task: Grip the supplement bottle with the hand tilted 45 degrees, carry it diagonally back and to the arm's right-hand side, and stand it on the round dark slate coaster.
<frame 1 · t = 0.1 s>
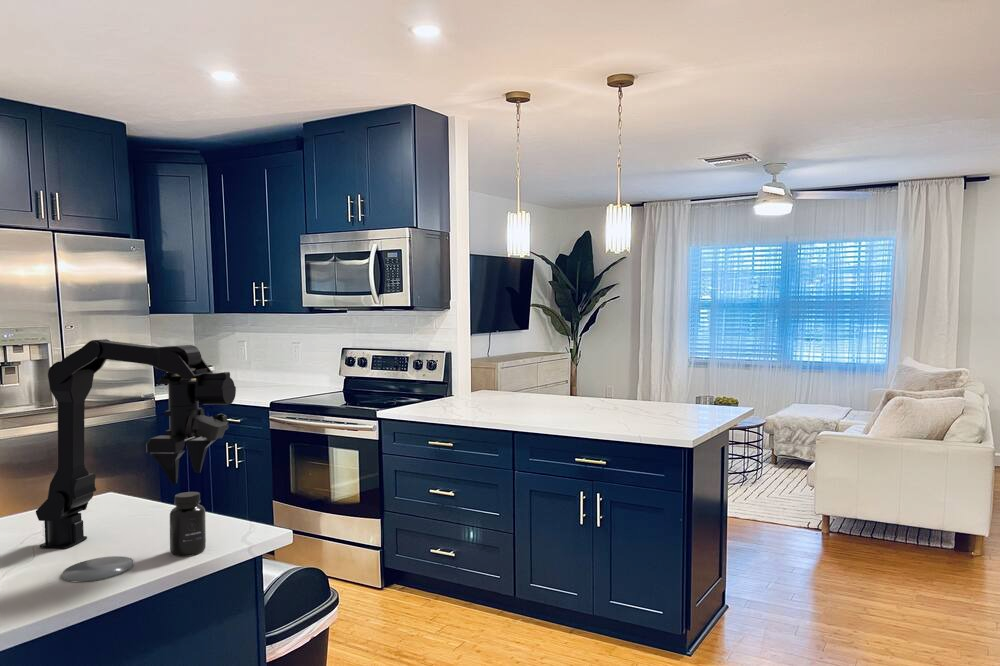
hand: (186, 478, 147), 15 cm above the counter, tool pointing down, fingers open, 9 cm apart
slate coaster: (98, 569, 135), on the counter
supplement bottle: (188, 552, 144), on the counter
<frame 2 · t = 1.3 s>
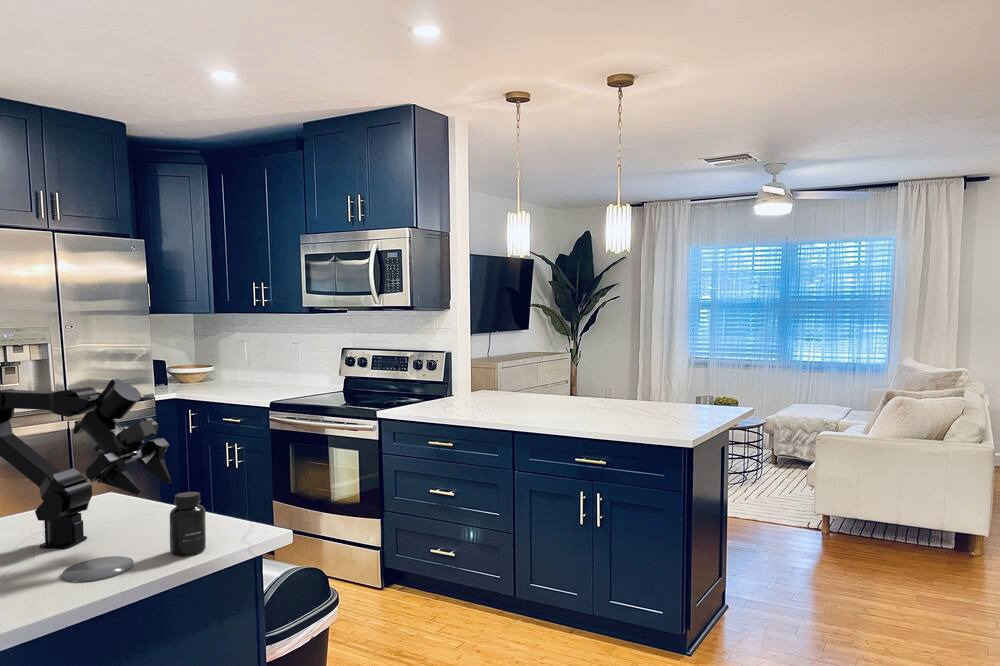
hand: (154, 487, 145), 13 cm above the counter, tool tilted 45°, fingers open, 9 cm apart
nothing on the counter moved.
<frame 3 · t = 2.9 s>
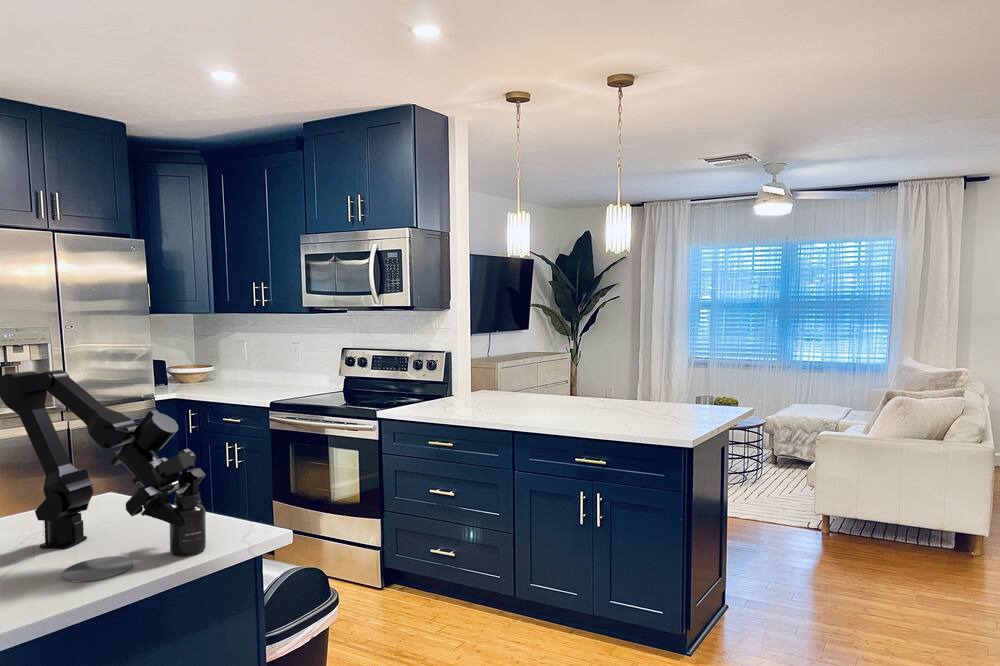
hand: (193, 520, 144), 7 cm above the counter, tool tilted 45°, fingers closed on supplement bottle, 7 cm apart
supplement bottle: (188, 552, 144), on the counter, touching gripper
when the fingers open (8 cm above the counter, at t = 6.7 s): supplement bottle stays where it is, resting on slate coaster.
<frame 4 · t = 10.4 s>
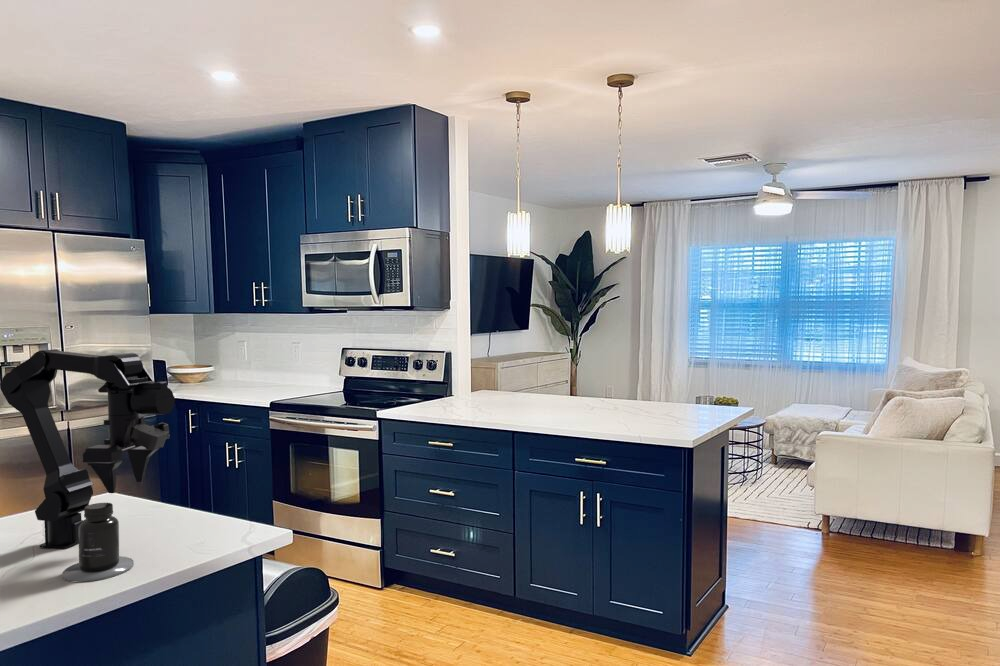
hand: (126, 487, 146), 13 cm above the counter, tool pointing down, fingers open, 9 cm apart
supplement bottle: (99, 567, 135), resting on slate coaster
at the end: supplement bottle 0.3 cm from the slate coaster (horizontally); supplement bottle tilted 0°; the gripper is holding nothing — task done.
